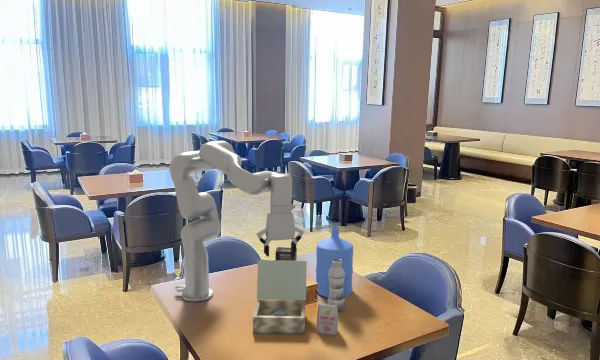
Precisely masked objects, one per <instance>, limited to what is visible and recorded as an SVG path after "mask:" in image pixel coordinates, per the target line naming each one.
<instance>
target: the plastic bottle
mask: <svg viewBox="0 0 600 360" xmlns="http://www.w3.org/2000/svg"><path fill="white" fill-rule="evenodd" d="M341 266H342V260H341V259H333V260H332V267H331V268H330V269H329V271H328V278H329V297H328V298H327V305H330V306H337V309H338V312H339V311H342V310H343V309H344V308H345V304H346V302H345V297H344V294H343V286H344V278H345V272H344V270H343V268H342V267H341Z"/></svg>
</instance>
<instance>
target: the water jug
mask: <svg viewBox="0 0 600 360" xmlns="http://www.w3.org/2000/svg"><path fill="white" fill-rule="evenodd" d="M339 230H340V227H337V226H334V227H333V226H332V227H331V235H330V236H331V237H330V236H329V237H328V238H325V239H322V240H320V241H318V242H317V243H316V248H315V253H316V261H315V262H316V264H315V265H316V266H315V273H316V274H315V283H316V282H317V283H318V293H317V294H318V295H320V296H321V297H323V298H327V299H328V297H329V278H328V271H329V269H330V268H331V267H332V260H333V259H341V260H342V266H341V267H342V268H343V270H344V272H345V278H344V286H343V294H344V298H346V297H348V296H350V295H351V294H352V293H353V273H354V268H353V267H354V266H353V263H354V262H353V259H354V245H353V243H351V242H350V241H348V240H346V239H343V238H341V237H340V236H339V234H340V232H339Z"/></svg>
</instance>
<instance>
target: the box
mask: <svg viewBox="0 0 600 360" xmlns="http://www.w3.org/2000/svg"><path fill="white" fill-rule="evenodd" d="M256 300H257V301H256V305H255V307H254V308H255V309H254V312H253V316H252V333H253V334H269V335H270V334H272V335H273V334H275V335H279V334H280V335H281V334H282V335H306V334H305V331H306V330H305V329H306V328H305V327H306V326H305V325H306V300H259V299H256ZM275 308H286V316H274V311H275Z"/></svg>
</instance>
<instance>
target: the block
mask: <svg viewBox="0 0 600 360" xmlns="http://www.w3.org/2000/svg"><path fill="white" fill-rule="evenodd" d="M274 316H286V308H275V311H274Z"/></svg>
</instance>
